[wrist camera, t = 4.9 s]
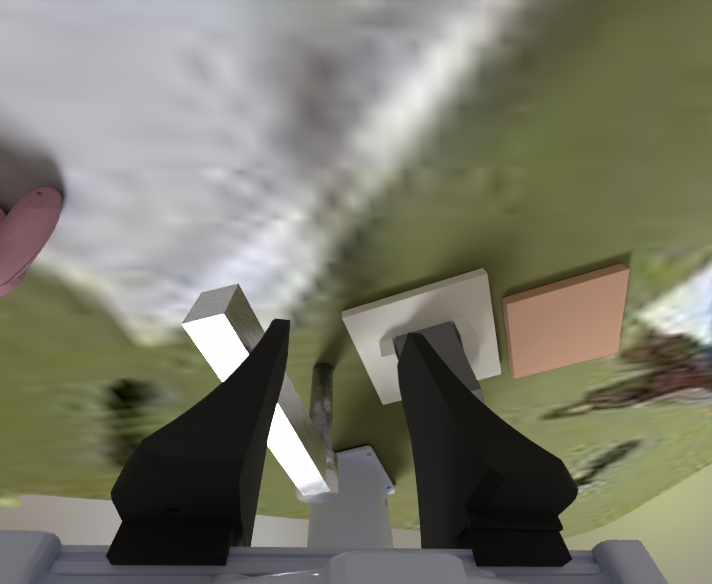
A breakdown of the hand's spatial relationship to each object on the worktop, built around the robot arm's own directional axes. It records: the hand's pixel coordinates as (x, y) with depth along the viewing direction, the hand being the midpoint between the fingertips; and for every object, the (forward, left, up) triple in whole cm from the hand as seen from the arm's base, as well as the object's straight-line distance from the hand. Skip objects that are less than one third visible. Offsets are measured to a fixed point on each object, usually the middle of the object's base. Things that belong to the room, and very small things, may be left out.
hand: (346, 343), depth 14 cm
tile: (-11, -13, -8) cm, 19 cm away
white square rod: (-3, +5, -1) cm, 6 cm away
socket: (-9, -1, -8) cm, 12 cm away
